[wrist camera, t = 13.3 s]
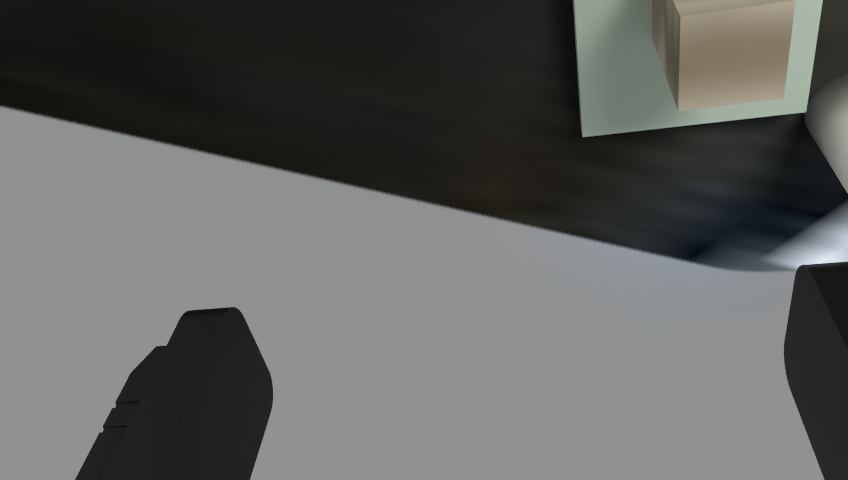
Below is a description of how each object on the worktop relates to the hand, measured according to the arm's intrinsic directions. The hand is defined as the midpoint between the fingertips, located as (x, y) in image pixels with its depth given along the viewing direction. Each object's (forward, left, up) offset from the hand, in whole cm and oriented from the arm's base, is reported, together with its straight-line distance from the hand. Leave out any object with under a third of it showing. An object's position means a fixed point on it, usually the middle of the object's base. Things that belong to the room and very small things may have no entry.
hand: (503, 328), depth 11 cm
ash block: (+6, +8, -27) cm, 28 cm away
